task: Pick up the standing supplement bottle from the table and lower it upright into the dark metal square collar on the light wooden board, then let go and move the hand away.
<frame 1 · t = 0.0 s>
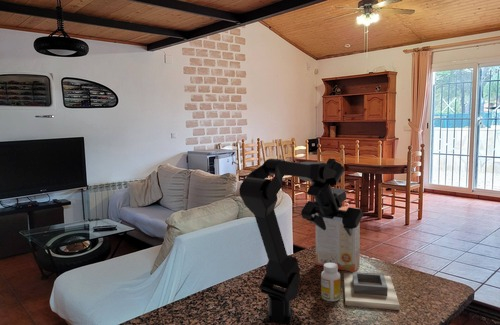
hand: (337, 232, 119), 15 cm above the kitchen counter, tool tilted 35°, fingers open, 9 cm apart
collar board: (369, 292, 109), on the kitchen counter
cracker box: (337, 266, 129), on the kitchen counter
supplement bottle: (330, 298, 107), on the kitchen counter
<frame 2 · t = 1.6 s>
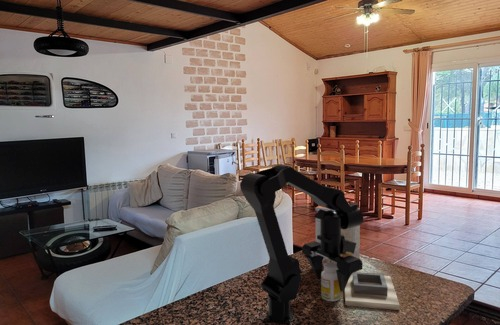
hand: (330, 284, 107), 4 cm above the kitchen counter, tool pointing down, fingers open, 9 cm apart
nothing on the kitchen counter moved.
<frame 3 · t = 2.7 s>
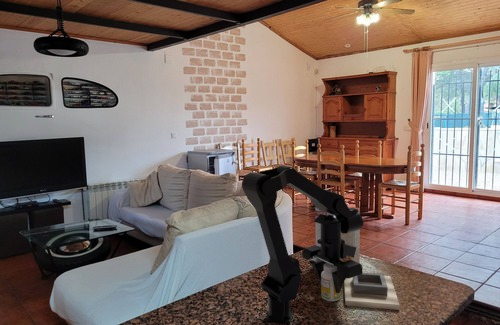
hand: (330, 288, 107), 3 cm above the kitchen counter, tool pointing down, fingers closed on supplement bottle, 5 cm apart
supplement bottle: (330, 297, 107), on the kitchen counter, touching gripper
everything else where it was.
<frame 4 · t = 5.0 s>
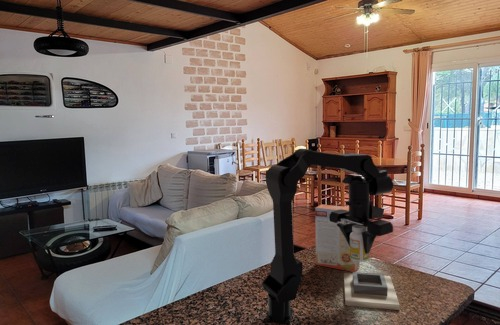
hand: (359, 250, 107), 13 cm above the kitchen counter, tool pointing down, fingers closed on supplement bottle, 5 cm apart
supplement bottle: (359, 259, 108), point 10 cm above the kitchen counter, touching gripper
everything else where it was.
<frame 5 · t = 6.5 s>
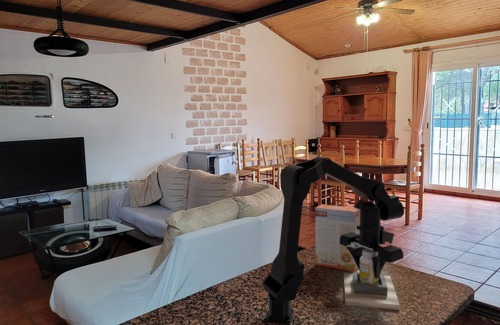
hand: (368, 274, 109), 6 cm above the kitchen counter, tool pointing down, fingers closed on supplement bottle, 5 cm apart
supplement bottle: (368, 283, 109), point 3 cm above the kitchen counter, touching gripper
everything else where it was.
when the fingers open (5 cm above the kitchen counter, at t = 7.5 s): supplement bottle stays where it is, resting on collar board.
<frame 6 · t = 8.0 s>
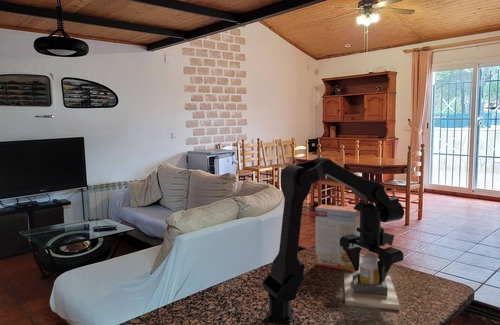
hand: (369, 276, 109), 5 cm above the kitchen counter, tool pointing down, fingers open, 9 cm apart
supplement bottle: (369, 288, 109), point 1 cm above the kitchen counter, touching collar board
everything else where it was.
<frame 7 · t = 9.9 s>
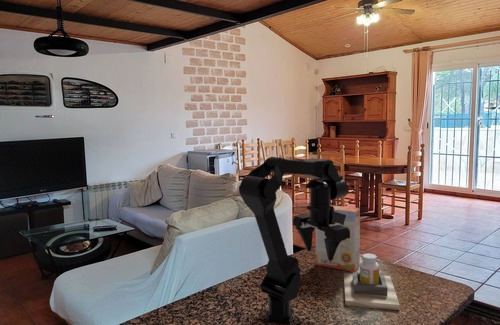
hand: (319, 255, 108), 12 cm above the kitchen counter, tool pointing down, fingers open, 9 cm apart
nothing on the kitchen counter moved.
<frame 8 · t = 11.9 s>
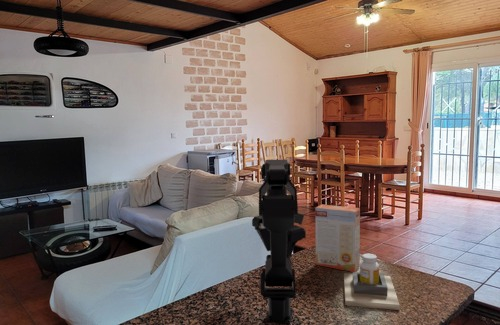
hand: (278, 255, 108), 12 cm above the kitchen counter, tool pointing down, fingers open, 9 cm apart
nothing on the kitchen counter moved.
at the end: supplement bottle 0.0 cm off-centre on the collar board, point 1.3 cm above the collar board's base; supplement bottle tilted 0°; the gripper is holding nothing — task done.
